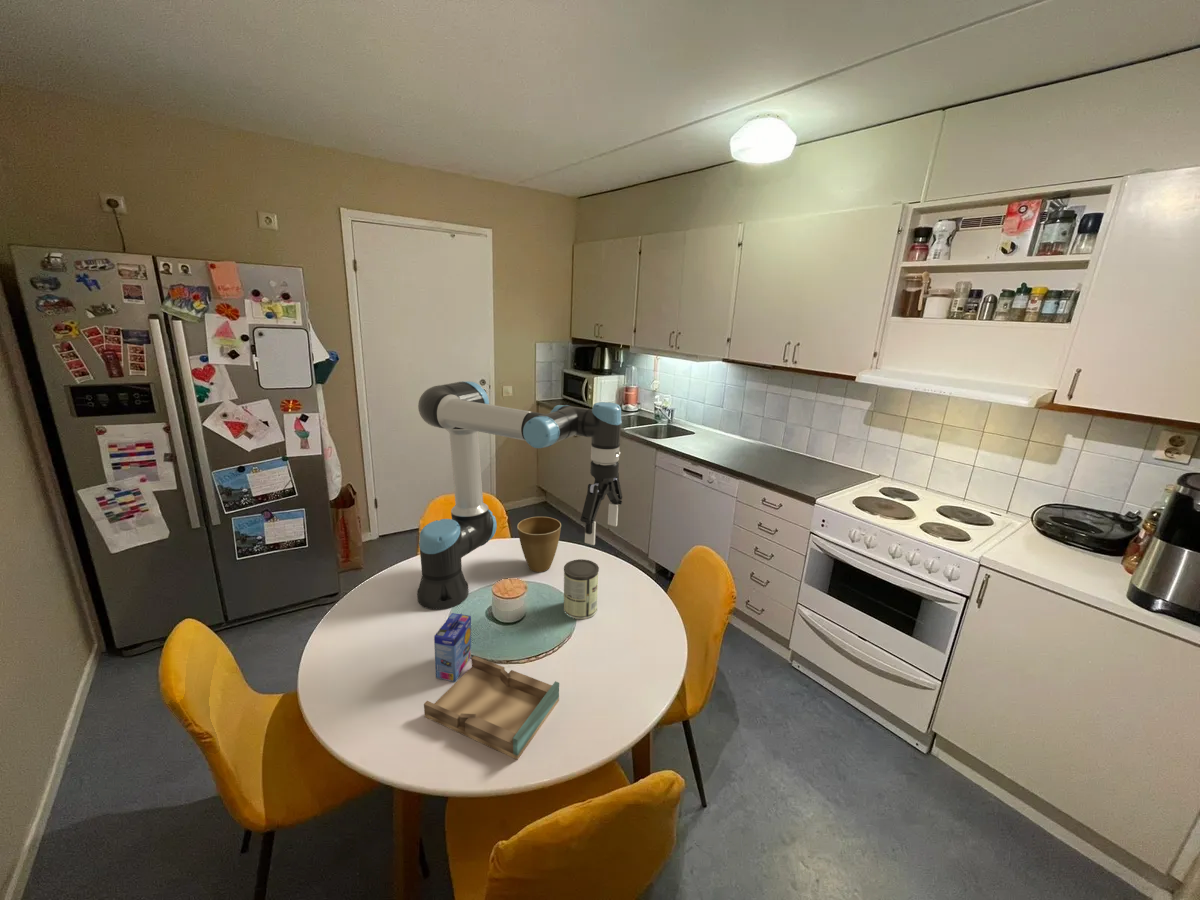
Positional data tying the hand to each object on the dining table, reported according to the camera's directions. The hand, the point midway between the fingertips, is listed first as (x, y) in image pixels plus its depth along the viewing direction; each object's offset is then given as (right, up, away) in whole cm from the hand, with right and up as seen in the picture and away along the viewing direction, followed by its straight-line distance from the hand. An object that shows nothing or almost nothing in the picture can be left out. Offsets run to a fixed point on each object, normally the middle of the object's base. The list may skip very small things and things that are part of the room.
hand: (601, 534), depth 134 cm
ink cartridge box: (-37, -31, -14) cm, 50 cm away
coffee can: (-6, -25, +11) cm, 28 cm away
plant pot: (-22, -18, +35) cm, 45 cm away
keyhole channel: (-24, -35, -26) cm, 50 cm away
